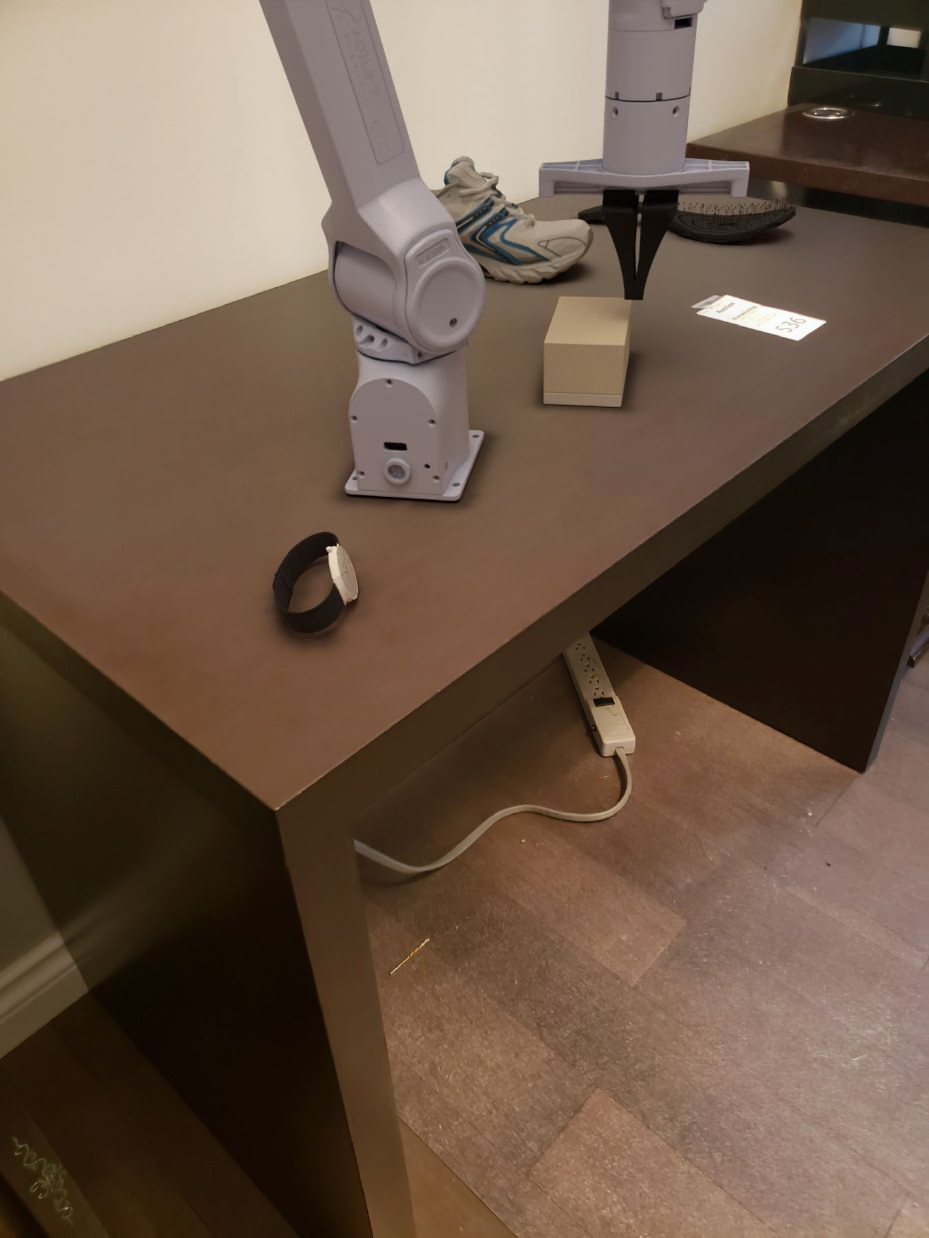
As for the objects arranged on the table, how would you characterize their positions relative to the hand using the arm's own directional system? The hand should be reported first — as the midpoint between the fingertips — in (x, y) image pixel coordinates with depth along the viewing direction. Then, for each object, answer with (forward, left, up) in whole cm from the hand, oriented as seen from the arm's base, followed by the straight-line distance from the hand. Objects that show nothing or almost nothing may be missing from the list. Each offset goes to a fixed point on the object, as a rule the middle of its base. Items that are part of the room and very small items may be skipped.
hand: (634, 295), depth 71 cm
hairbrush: (+42, -3, -7) cm, 43 cm away
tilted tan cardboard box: (0, 0, -4) cm, 4 cm away
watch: (-32, +16, -7) cm, 36 cm away
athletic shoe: (+27, +17, -7) cm, 33 cm away
